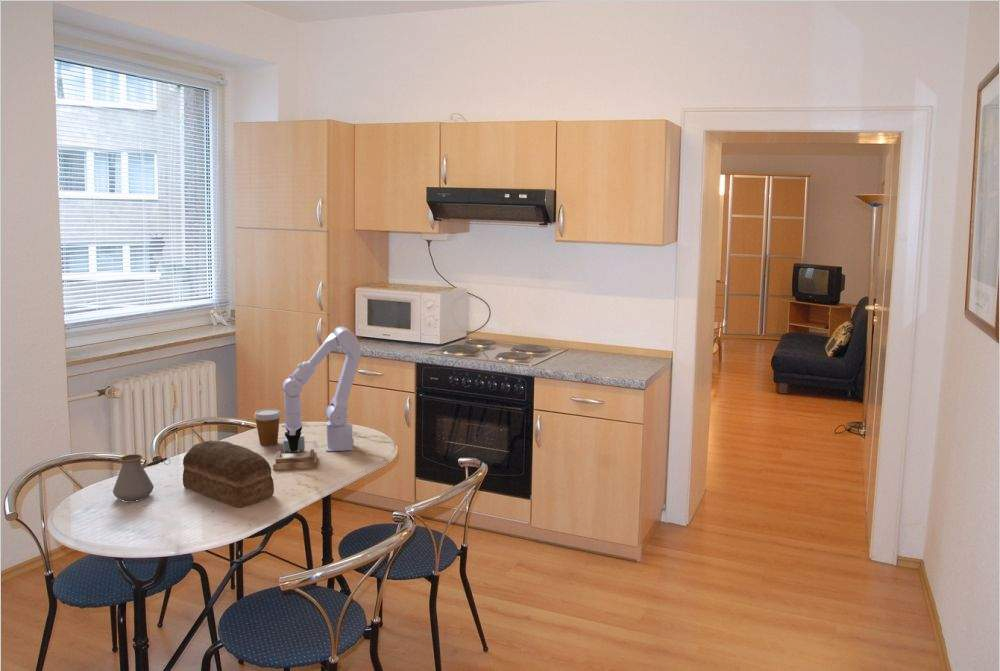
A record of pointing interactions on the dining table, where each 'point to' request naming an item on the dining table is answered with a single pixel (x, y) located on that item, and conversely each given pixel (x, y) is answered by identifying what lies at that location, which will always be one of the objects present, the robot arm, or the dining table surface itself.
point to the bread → (227, 473)
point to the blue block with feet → (300, 445)
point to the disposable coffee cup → (267, 426)
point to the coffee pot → (133, 479)
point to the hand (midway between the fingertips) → (294, 449)
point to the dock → (295, 460)
